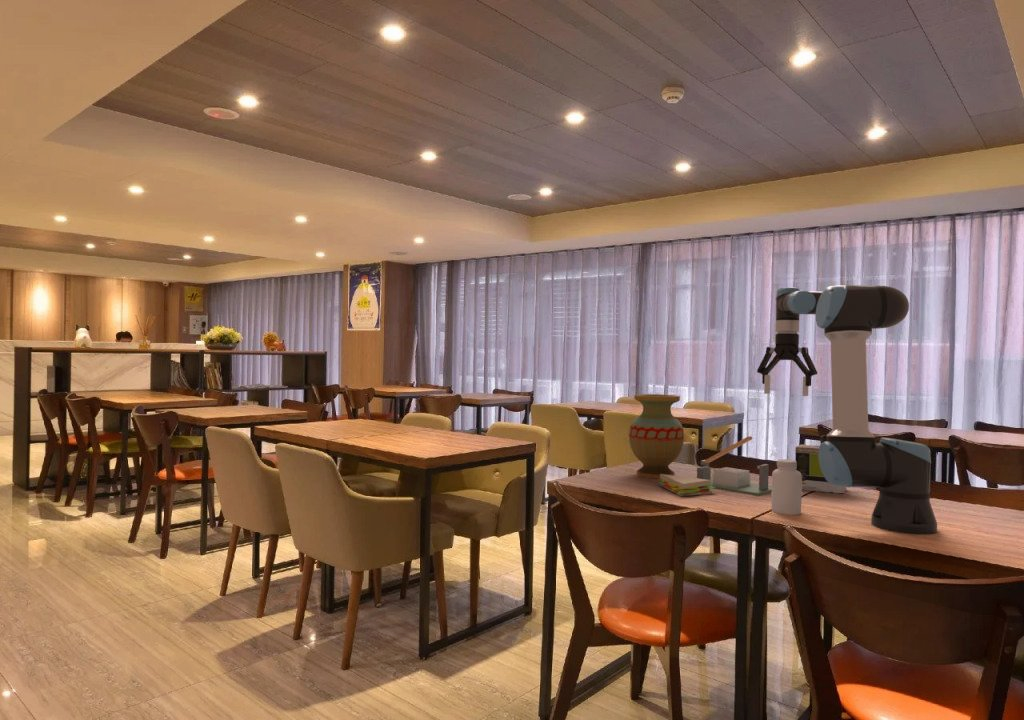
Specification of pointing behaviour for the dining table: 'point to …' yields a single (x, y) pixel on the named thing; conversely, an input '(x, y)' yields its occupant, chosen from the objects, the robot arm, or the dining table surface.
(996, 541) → the dining table surface
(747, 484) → the heatsink board
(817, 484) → the tea box
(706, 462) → the wooden stick
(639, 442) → the vase
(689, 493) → the sandwich
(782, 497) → the pill bottle
